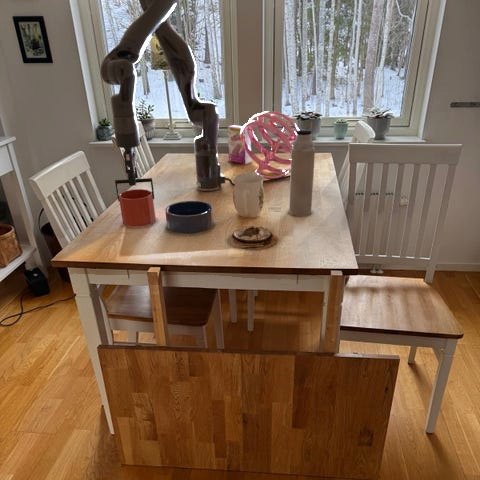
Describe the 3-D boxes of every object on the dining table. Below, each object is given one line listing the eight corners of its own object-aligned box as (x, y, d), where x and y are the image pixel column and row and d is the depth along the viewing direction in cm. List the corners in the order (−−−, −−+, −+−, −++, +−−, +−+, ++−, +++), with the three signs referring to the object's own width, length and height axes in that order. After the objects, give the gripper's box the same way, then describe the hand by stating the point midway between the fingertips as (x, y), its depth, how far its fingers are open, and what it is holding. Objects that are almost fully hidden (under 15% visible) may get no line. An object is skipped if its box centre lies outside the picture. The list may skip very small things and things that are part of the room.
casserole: (202, 215, 170) (201, 198, 166) (220, 229, 158) (219, 211, 154) (161, 223, 164) (159, 205, 161) (176, 238, 152) (174, 219, 149)
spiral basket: (255, 141, 182) (291, 91, 188) (214, 147, 204) (248, 103, 210) (292, 192, 199) (324, 145, 205) (251, 193, 220) (281, 150, 226)
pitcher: (228, 224, 162) (227, 184, 154) (237, 207, 177) (236, 170, 169) (260, 226, 160) (260, 185, 153) (266, 208, 175) (267, 170, 168)
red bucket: (123, 217, 170) (116, 175, 162) (157, 215, 171) (152, 173, 163) (120, 229, 160) (113, 185, 152) (156, 226, 162) (151, 182, 153)
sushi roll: (244, 253, 141) (243, 240, 139) (221, 237, 152) (220, 225, 150) (285, 242, 147) (285, 230, 145) (260, 228, 158) (260, 216, 156)
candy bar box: (228, 161, 235) (226, 126, 226) (234, 159, 238) (233, 124, 229) (245, 164, 229) (244, 128, 220) (251, 162, 232) (251, 127, 223)
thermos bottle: (292, 207, 175) (295, 127, 160) (313, 209, 173) (318, 128, 158) (286, 215, 169) (289, 132, 153) (308, 217, 166) (313, 133, 151)
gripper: (136, 134, 144) (143, 187, 152) (139, 125, 156) (146, 175, 164) (111, 135, 143) (120, 188, 152) (116, 126, 155) (124, 176, 164)
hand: (133, 181), depth 158 cm, fingers open, 8 cm apart
